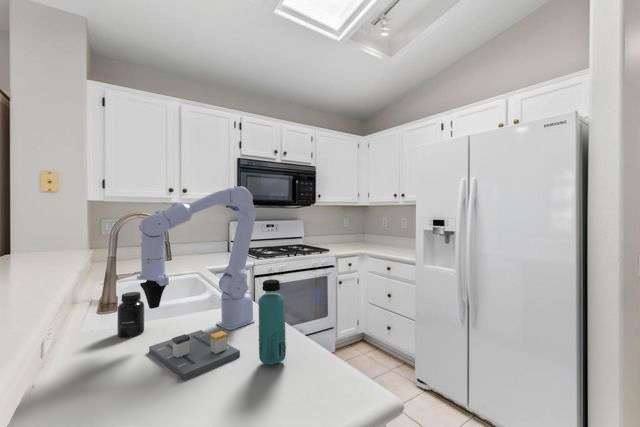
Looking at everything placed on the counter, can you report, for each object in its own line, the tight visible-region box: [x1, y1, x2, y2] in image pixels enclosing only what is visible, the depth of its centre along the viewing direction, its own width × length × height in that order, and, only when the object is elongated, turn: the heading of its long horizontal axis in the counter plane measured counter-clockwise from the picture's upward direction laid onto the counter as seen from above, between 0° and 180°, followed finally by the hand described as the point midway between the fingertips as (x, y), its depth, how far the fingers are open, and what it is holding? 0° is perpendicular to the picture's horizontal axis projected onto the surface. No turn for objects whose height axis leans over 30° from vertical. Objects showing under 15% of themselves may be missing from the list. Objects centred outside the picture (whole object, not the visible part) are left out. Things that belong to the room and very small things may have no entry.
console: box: [148, 329, 241, 382], centre depth 77 cm, size 14×20×2 cm
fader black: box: [171, 333, 190, 358], centre depth 74 cm, size 3×3×4 cm
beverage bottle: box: [257, 279, 287, 365], centre depth 72 cm, size 6×7×20 cm
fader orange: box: [209, 330, 228, 354], centre depth 75 cm, size 3×3×4 cm
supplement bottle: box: [116, 291, 145, 339], centre depth 90 cm, size 7×7×12 cm
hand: (154, 307), depth 83 cm, fingers closed
